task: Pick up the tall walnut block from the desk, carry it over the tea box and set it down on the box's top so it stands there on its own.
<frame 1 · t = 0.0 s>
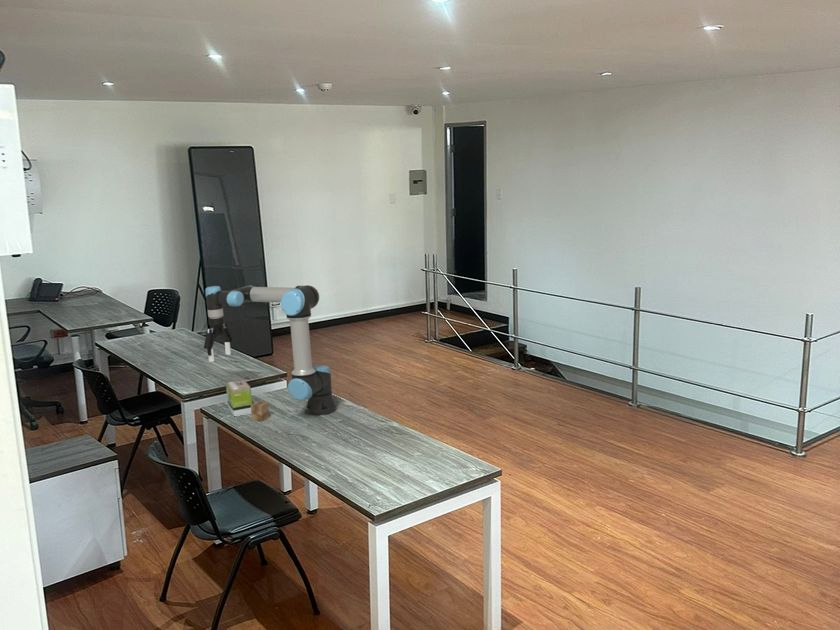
hand: (220, 358, 384), 28 cm above the table, fingers open, 13 cm apart
walnut block: (260, 419, 374), on the table
tea box: (240, 412, 387), on the table
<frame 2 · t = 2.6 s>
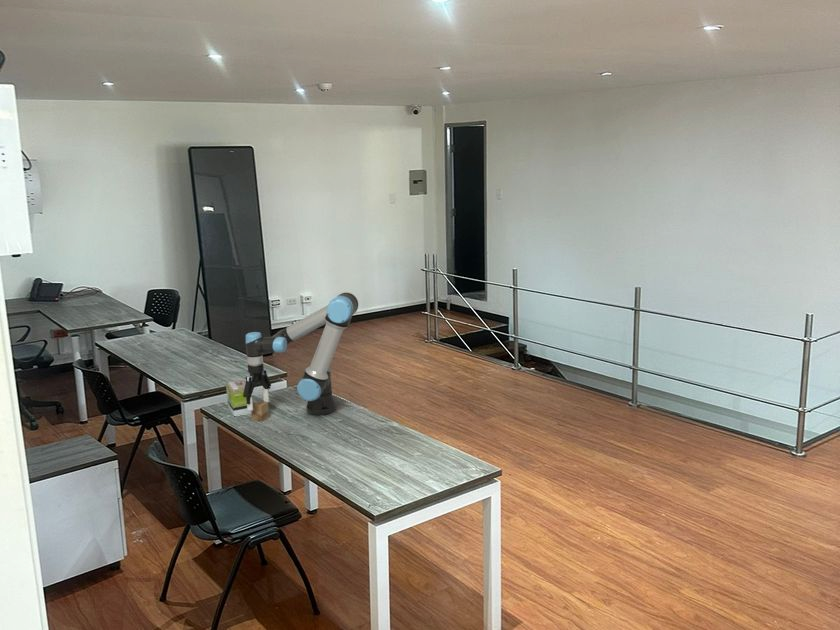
hand: (258, 405, 372), 7 cm above the table, fingers open, 13 cm apart
nothing on the table moved.
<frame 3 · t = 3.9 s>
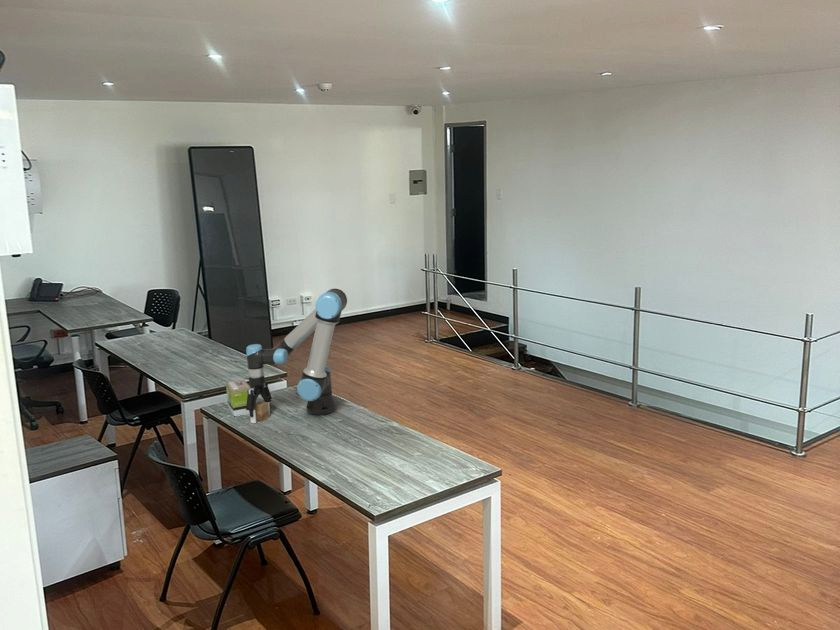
hand: (260, 418, 374), 0 cm above the table, fingers open, 11 cm apart
nothing on the table moved.
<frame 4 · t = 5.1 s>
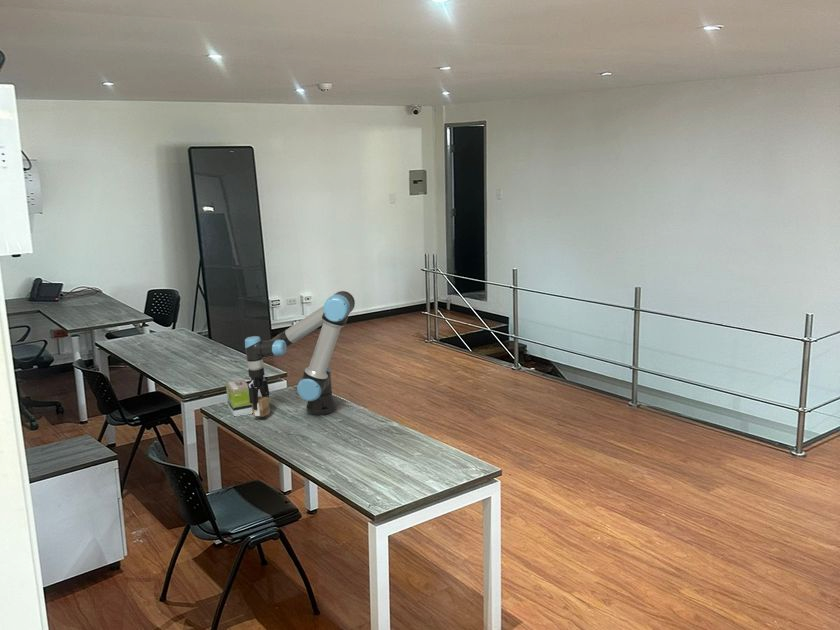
hand: (261, 413, 373), 3 cm above the table, fingers closed on walnut block, 6 cm apart
walnut block: (261, 414, 373), point 3 cm above the table, touching gripper
everything else where it was.
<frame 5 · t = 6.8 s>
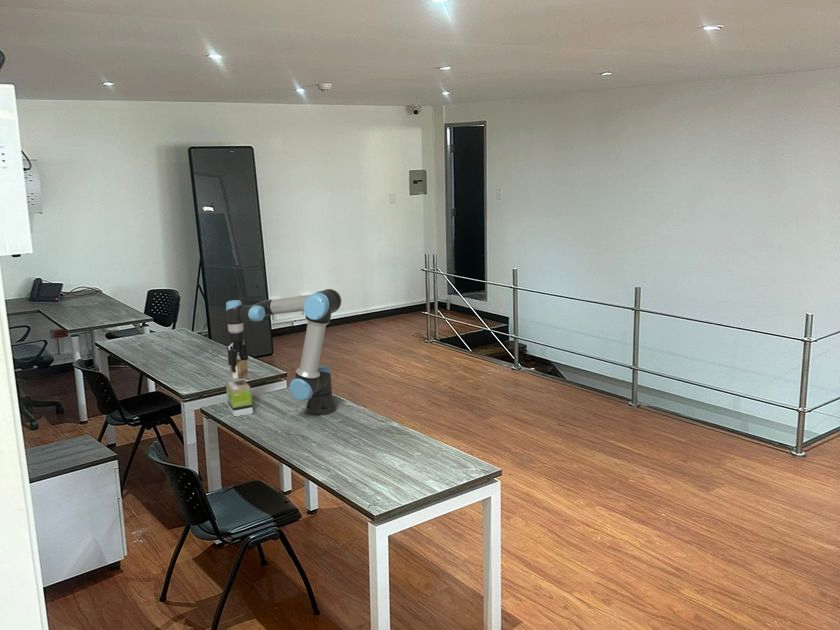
hand: (239, 376, 380), 20 cm above the table, fingers closed on walnut block, 6 cm apart
walnut block: (239, 376, 380), point 19 cm above the table, touching gripper
everything else where it was.
when the fingers open (15 cm above the table, at t = 8.3 s): walnut block stays where it is, resting on tea box.
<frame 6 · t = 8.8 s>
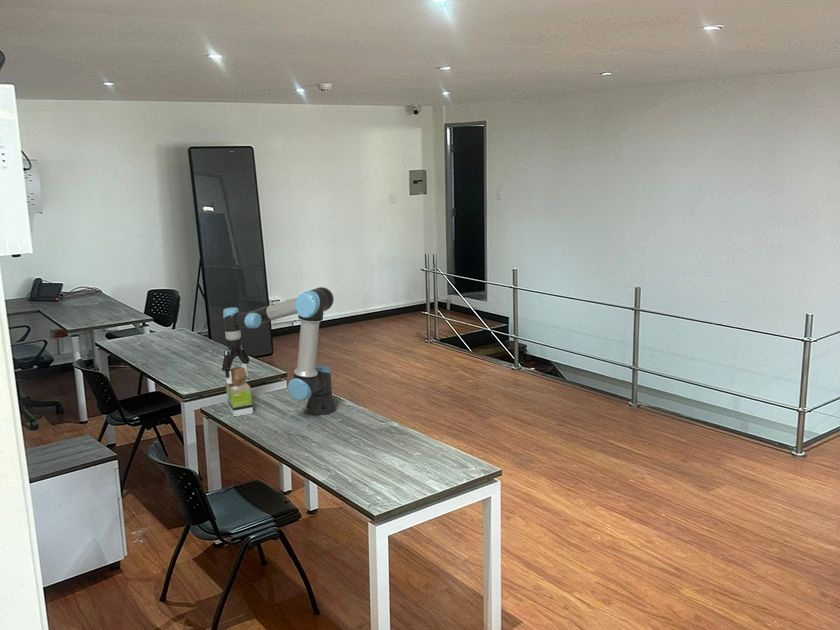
hand: (237, 379, 383), 17 cm above the table, fingers open, 12 cm apart
walnut block: (237, 384, 384), point 15 cm above the table, touching tea box
tea box: (240, 412, 387), on the table, touching walnut block
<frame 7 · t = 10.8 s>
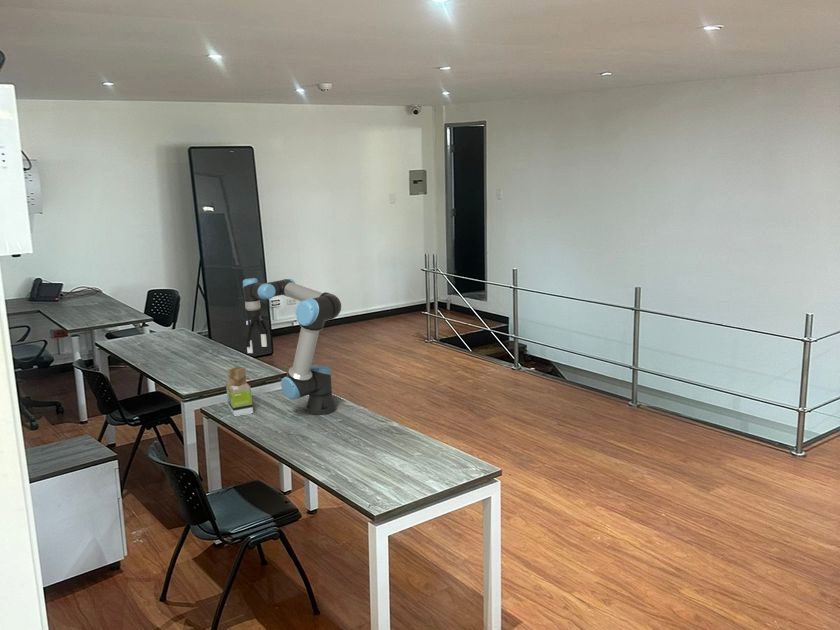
hand: (257, 349, 387), 30 cm above the table, fingers open, 13 cm apart
walnut block: (237, 384, 384), point 15 cm above the table
tea box: (241, 412, 387), on the table
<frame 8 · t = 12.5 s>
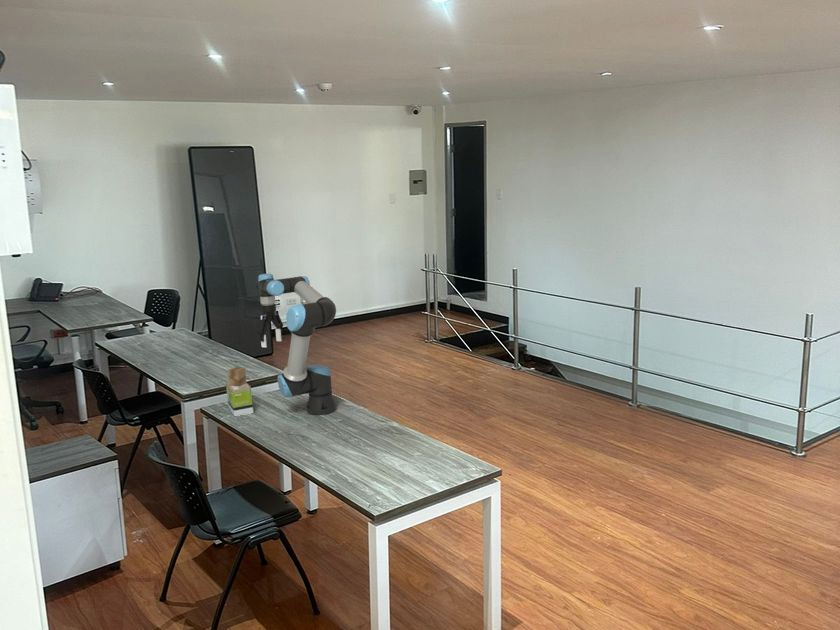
hand: (271, 344, 393), 32 cm above the table, fingers open, 13 cm apart
walnut block: (237, 384, 384), point 15 cm above the table, touching tea box
tea box: (241, 412, 387), on the table, touching walnut block
at the end: walnut block inside the target area on the tea box (0.1 cm from its centre), point 15.0 cm above the tea box's base; walnut block tilted 0°; the gripper is holding nothing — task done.
